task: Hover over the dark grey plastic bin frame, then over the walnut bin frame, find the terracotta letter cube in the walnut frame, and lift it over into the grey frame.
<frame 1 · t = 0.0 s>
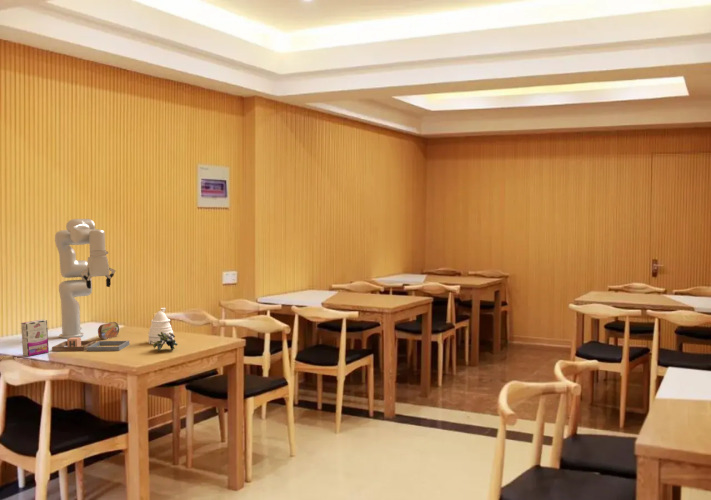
hand: (98, 287, 346), 31 cm above the table, tool pointing down, fingers open, 9 cm apart
honey pot: (161, 342, 363), on the table
walnut bin frame: (74, 347, 350), on the table
tin: (108, 338, 377), on the table
candy bar box: (35, 354, 334), on the table
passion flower: (164, 351, 340), on the table
letter cube: (74, 348, 350), resting in walnut bin frame
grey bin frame: (108, 347, 349), on the table
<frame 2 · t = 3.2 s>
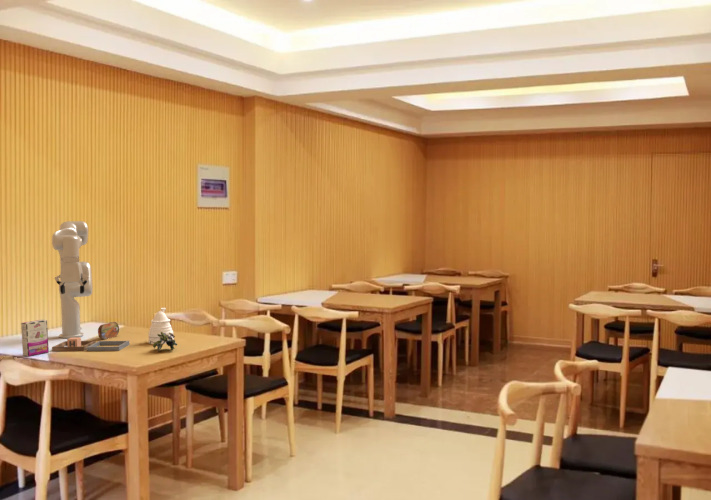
hand: (72, 293, 348), 28 cm above the table, tool pointing down, fingers open, 9 cm apart
nothing on the table moved.
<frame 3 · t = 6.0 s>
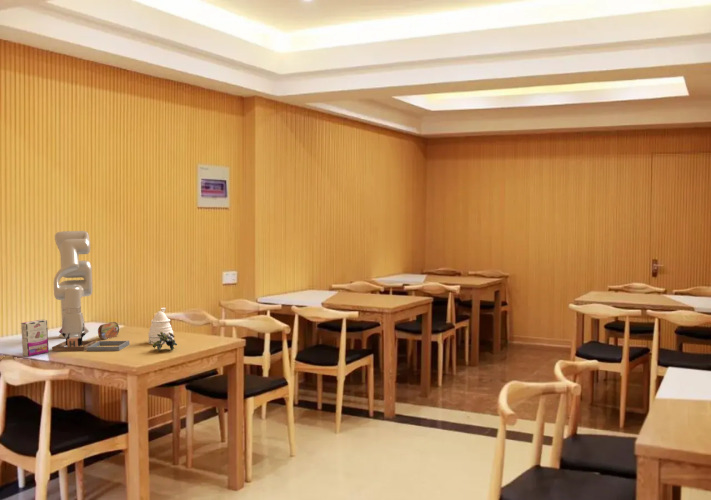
hand: (74, 345, 349), 1 cm above the table, tool pointing down, fingers closed on letter cube, 5 cm apart
letter cube: (74, 348, 350), resting in walnut bin frame, touching gripper
everything else where it was.
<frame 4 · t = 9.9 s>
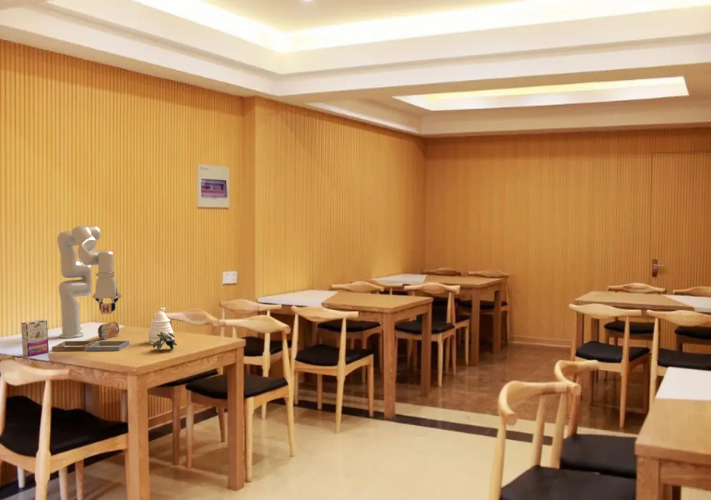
hand: (107, 310, 348), 19 cm above the table, tool pointing down, fingers closed on letter cube, 5 cm apart
letter cube: (107, 313, 348), point 18 cm above the table, touching gripper
everything else where it was.
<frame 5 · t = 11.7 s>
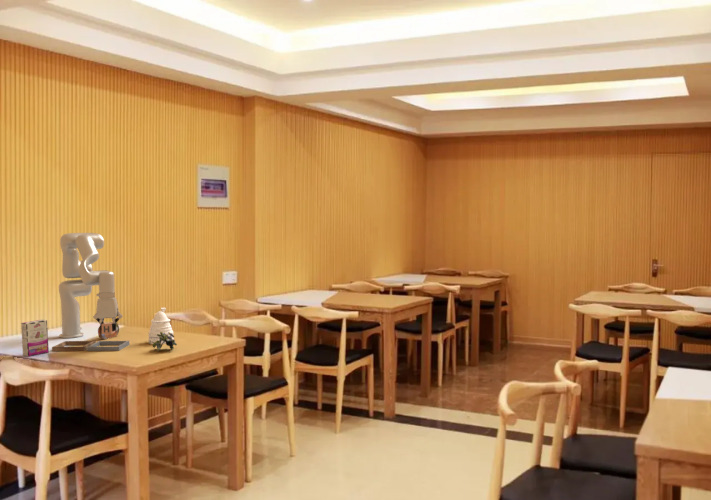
hand: (108, 330, 348), 9 cm above the table, tool pointing down, fingers closed on letter cube, 5 cm apart
letter cube: (108, 333, 348), point 8 cm above the table, touching gripper
everything else where it was.
when the fingers open (3 cm above the table, at t = 13.3 s): letter cube drops 1 cm, resting in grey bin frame.
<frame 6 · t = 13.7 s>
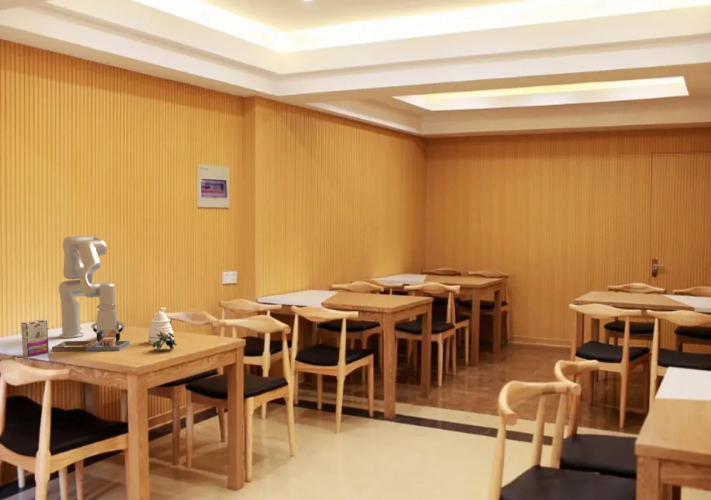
hand: (108, 340, 348), 4 cm above the table, tool pointing down, fingers open, 9 cm apart
letter cube: (108, 347, 349), resting in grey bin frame
everything else where it was.
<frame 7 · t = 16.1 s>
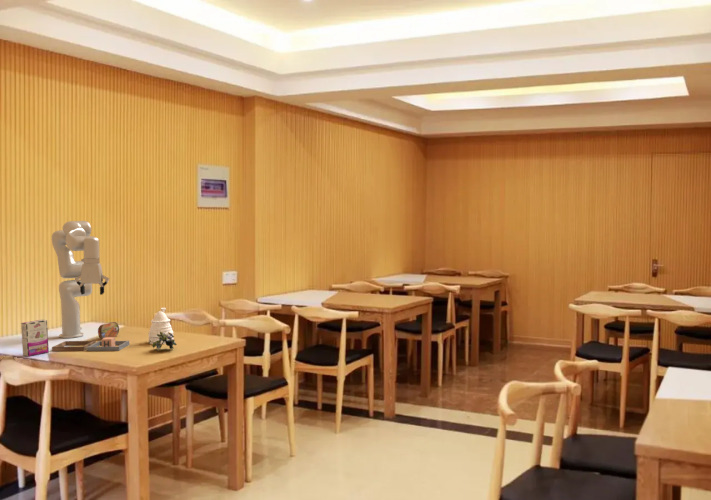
hand: (92, 294, 352), 27 cm above the table, tool pointing down, fingers open, 9 cm apart
nothing on the table moved.
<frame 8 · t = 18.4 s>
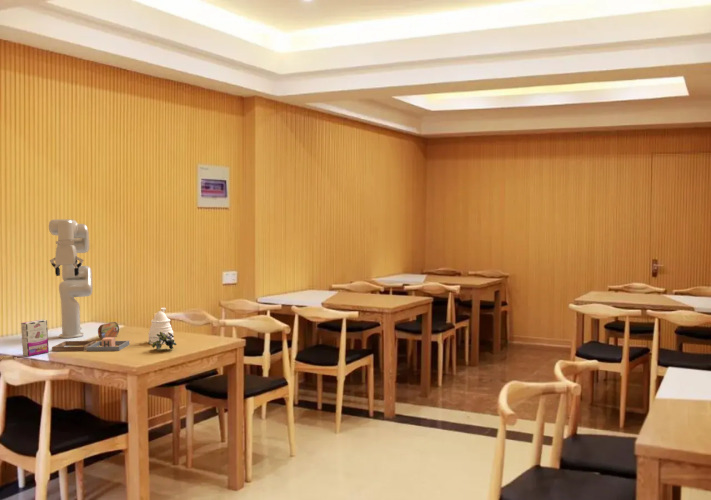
hand: (67, 275, 358), 36 cm above the table, tool pointing down, fingers open, 9 cm apart
nothing on the table moved.
at the end: letter cube inside the target area on the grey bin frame (0.1 cm from its centre), point 0.0 cm above the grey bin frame's base; letter cube tilted 0°; the gripper is holding nothing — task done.
